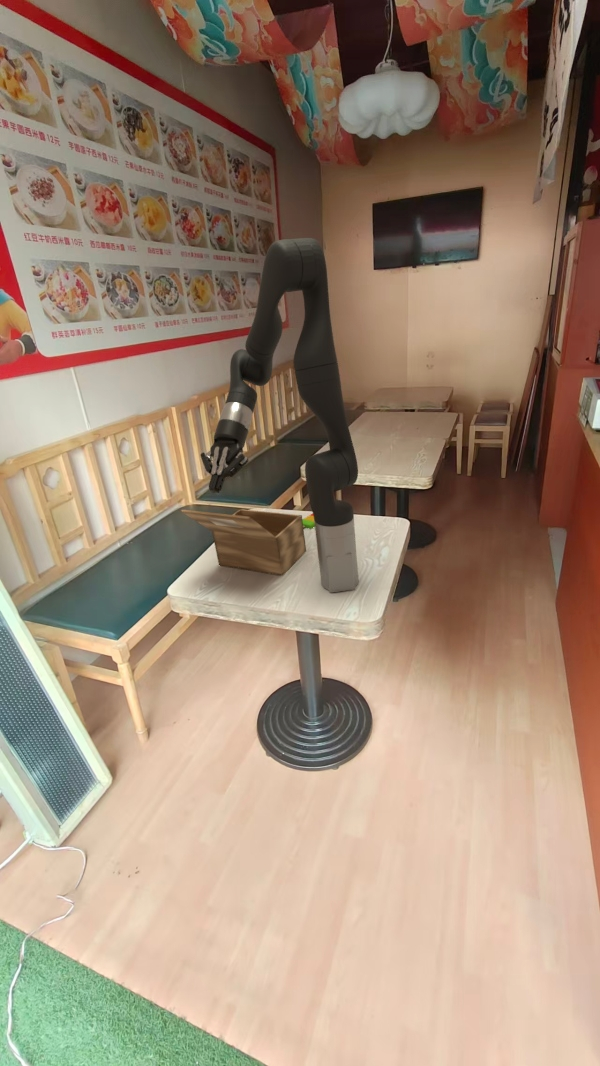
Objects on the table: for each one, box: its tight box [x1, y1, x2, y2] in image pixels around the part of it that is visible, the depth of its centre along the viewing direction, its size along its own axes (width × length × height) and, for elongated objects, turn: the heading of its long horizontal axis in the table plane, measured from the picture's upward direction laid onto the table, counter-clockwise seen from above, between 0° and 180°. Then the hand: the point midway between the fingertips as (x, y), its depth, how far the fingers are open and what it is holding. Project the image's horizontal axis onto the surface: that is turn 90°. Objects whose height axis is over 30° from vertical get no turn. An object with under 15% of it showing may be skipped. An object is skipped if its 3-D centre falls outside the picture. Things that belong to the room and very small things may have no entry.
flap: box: [180, 509, 276, 539], centre depth 127 cm, size 14×20×1 cm
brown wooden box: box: [211, 509, 307, 577], centre depth 141 cm, size 14×20×11 cm
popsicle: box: [302, 513, 315, 530], centre depth 160 cm, size 6×15×2 cm, turn 138°
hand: (214, 491), depth 121 cm, fingers closed
